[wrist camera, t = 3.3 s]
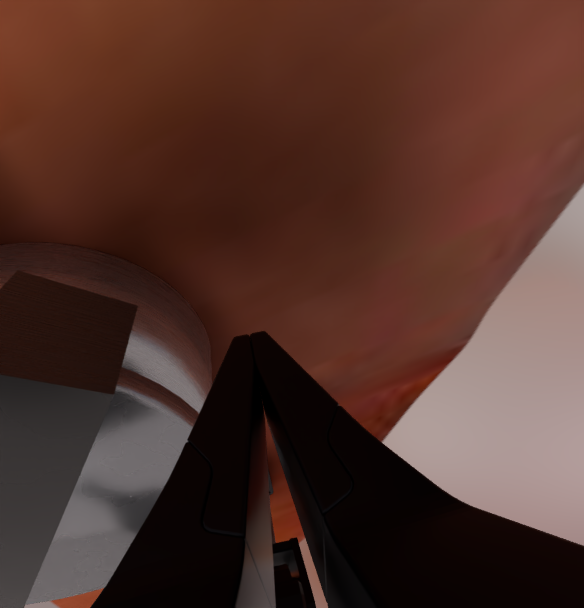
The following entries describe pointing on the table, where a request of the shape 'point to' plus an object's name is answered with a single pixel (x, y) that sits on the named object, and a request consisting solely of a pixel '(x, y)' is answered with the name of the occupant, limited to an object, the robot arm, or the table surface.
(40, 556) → the cooker lid
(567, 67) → the table surface
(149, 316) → the cooker pot
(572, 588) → the robot arm
